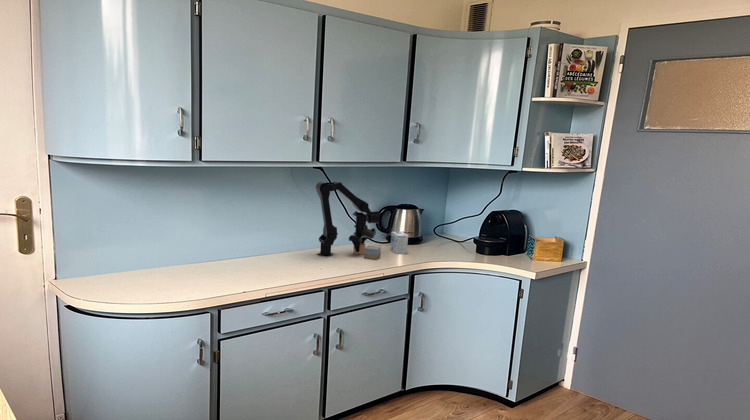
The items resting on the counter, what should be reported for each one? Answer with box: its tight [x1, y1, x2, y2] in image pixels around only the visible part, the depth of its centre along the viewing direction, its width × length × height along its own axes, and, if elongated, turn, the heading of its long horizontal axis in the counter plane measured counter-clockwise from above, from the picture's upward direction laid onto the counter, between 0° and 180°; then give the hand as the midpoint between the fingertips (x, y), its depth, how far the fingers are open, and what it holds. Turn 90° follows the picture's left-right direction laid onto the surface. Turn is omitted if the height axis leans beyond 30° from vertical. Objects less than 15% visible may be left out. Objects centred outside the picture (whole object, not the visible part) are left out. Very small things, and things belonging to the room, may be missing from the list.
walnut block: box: [363, 252, 382, 261], centre depth 268 cm, size 7×7×3 cm
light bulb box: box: [389, 231, 409, 255], centre depth 285 cm, size 11×7×11 cm, turn 17°
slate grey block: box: [363, 245, 381, 255], centre depth 268 cm, size 7×7×3 cm
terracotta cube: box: [353, 243, 366, 255], centre depth 277 cm, size 5×5×5 cm
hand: (359, 251), depth 277 cm, fingers closed on terracotta cube, 5 cm apart
